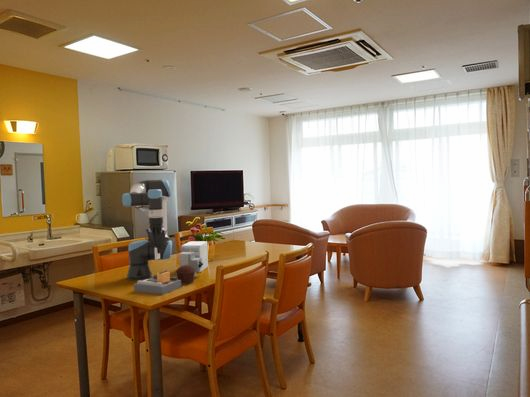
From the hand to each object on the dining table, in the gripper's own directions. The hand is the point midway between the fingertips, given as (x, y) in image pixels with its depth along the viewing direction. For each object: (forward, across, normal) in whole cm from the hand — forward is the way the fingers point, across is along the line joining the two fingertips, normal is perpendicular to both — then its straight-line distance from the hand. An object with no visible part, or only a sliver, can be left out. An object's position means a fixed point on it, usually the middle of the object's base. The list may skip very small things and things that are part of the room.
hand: (157, 258), depth 226 cm
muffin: (+17, +6, +18) cm, 25 cm away
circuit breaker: (+18, +1, +31) cm, 35 cm away
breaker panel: (+17, 0, 0) cm, 17 cm away
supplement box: (+18, -9, +49) cm, 53 cm away
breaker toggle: (+12, +4, 0) cm, 13 cm away
